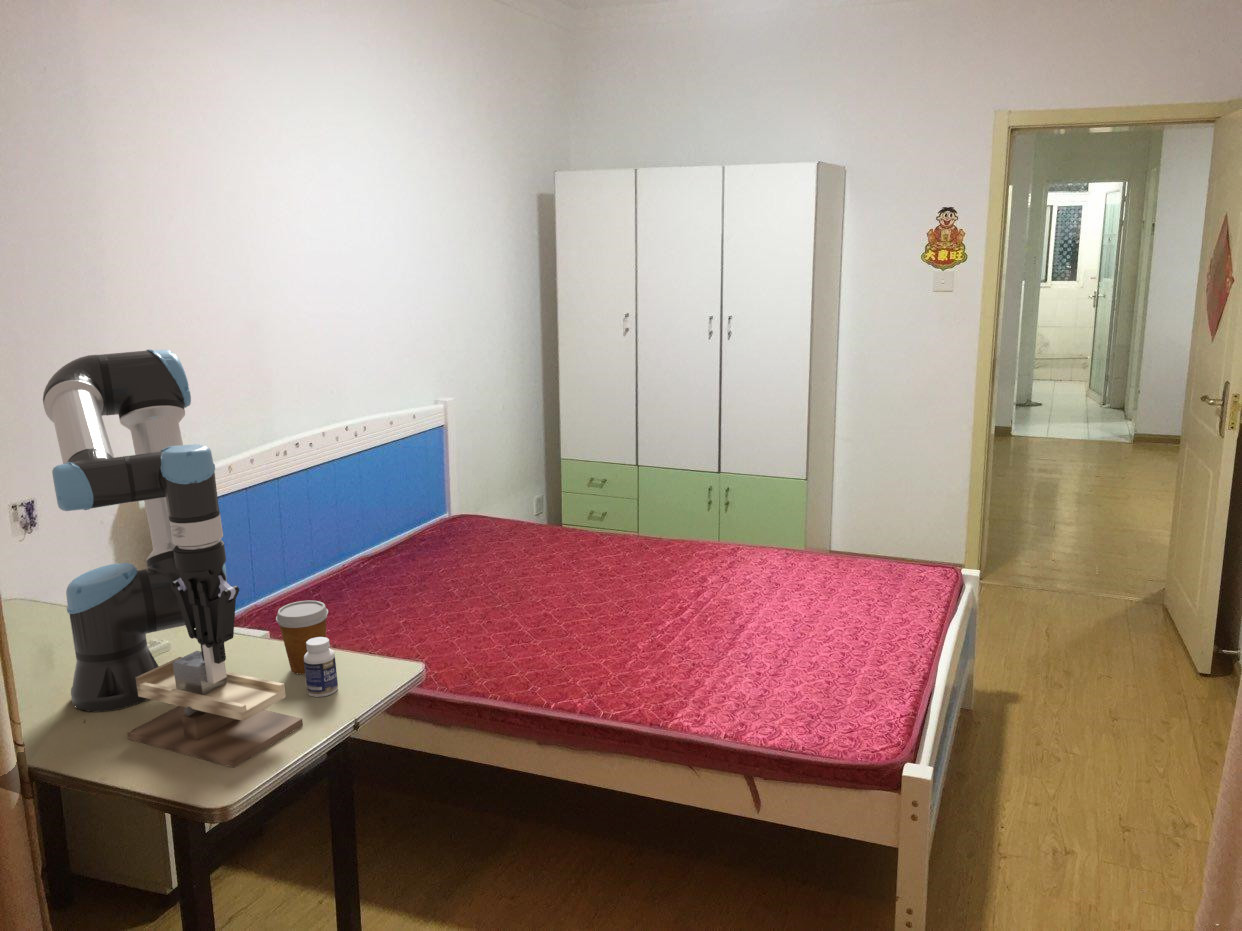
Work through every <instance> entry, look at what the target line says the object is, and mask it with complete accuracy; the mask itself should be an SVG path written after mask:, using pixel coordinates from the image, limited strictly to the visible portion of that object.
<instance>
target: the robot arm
mask: <svg viewBox="0 0 1242 931" xmlns="http://www.w3.org/2000/svg"><path fill="white" fill-rule="evenodd" d="M188 381H189V380H188V378H187V375H186V371H185V368H184V366H183V365H182V362H181V360H180V358H179V357H178V355H177V354H176V353H175V352H173V351H171V350H169V349H155V350H154V349H149V348H148V349H146V350H139V351H128V352H127V351H125V352H115V353H102V354H90V355H89V354H88V355H84V356H81V357H78V358H75V359H74V360H72V361H70V362H68V363H66V364H65V365H63V366H62V367H60V368H59V369H58V370H57V371H56V372H55V373H54V374H53V375H52V377H51V378H50V379H49V380H48V382H47V383H46V385H45V388H44V391H43V396H42V403H43V404H42V405H43V409H44V412H45V414H46V416H47V418H49V420H50V421H51V422H52V423H53V424H54V429H55V432H56V437H57V438H56V439H57V442H58V446H59V451H60V456H61V460H62V464H59V465H58V464H57V465H55V466H54V467H53V468H52V470H51V472H52V479H53V481H52V482H53V486H54V492H55V497H56V503H57V506H58V508H59V509H60V511H61V510H62V512H63V511H64V512H71V511H80V510H82V511H83V510H84V511H87V510H91V509H96V508H103V507H110V506H115V505H116V506H117V505H122V504H128V503H134V502H135V503H136V502H143V503H144V507H145V512H146V517H147V522H148V527H149V533H150V534H149V535H150V538H151V543H152V551H151V552H150V554H149V555H148V557H147V558H146V559H145V560H146V566H147V568H145V569H140V570H138V568H137V567H136V566H135V564H133V563H130V562H121V563H111V564H107V565H104V566H100V567H97V568H94V569H92V570H91V569H90V570H89V571H86V572H84V573H82V574H80V575H78V576H77V577H75V578H74V579H73V580H72V581H70V583H69V584H68V586H67V587H66V591H65V592H66V593H65V595H66V605H67V607H66V612H67V614H69V620H70V627H71V628H70V629H71V634H72V640H73V646H74V648H73V649H74V652H75V659H76V664H75V667H74V668H75V670H74V674H73V679H72V680H73V681H72V686H71V688H70V697H71V702H72V705H74V706H76V707H77V708H79V709H78V710H80V709H83V710H89V711H88V712H92V711H98V712H107V711H115V710H121V709H124V708H128V707H132V706H134V705H138V704H141V703H142V702H146V701H147V700H149V699H148V698H143V697H139V696H138V690H137V684H136V678H135V677H138V676H140V675H142V674H144V673H146V672H148V671H150V670H153V669H155V668H157V667H159V664H158V663H157V660H156V659H155V657H154V655H153V654H152V652H151V650H150V649H149V645H148V642H147V634H151V633H155V632H160V631H165V630H171V629H174V628H180V627H183V626H185V628H186V630H187V633H188V636H189V638H190V639H191V640H192V639H196V640H197V642H198V644H199V645H200V651H201V652H202V658H203V661H205V668H206V675H207V682H209V683H213V684H214V683H216V682H218V681H220V680H222V679H224V678H226V677H227V675H226V672H227V670H226V669H227V668H226V663H225V662H226V659H227V656H226V648H225V642H228V641H229V640H233V638H234V635H235V634H234V633H235V631H234V630H235V618H236V601H237V597H238V594H239V592H240V588H239V587H238V585H233V586H231V585H230V584H229V583H228V578H227V567H226V566H227V565H226V561H227V558H226V557H227V555H226V548H225V542H224V541H223V540H222V539H223V537H224V531H223V524H222V518H221V513H220V506H219V500H218V491H217V490H218V488H217V481H216V472H215V471H216V465H215V463H214V459H213V455H212V454H213V453H212V450H211V449H210V447H208V446H207V445H203V444H195V443H194V444H184V442H183V438H182V432H181V428H180V423H181V421H182V420H183V418H185V416H186V410H185V408H186V409H187V407H189V406H191V404H192V396H191V391H190V390H191V389H190V387H189V385H190V384H189V382H188ZM115 415H116V416H117V415H118V417H119V423H120V425H122V426H123V427H124V428H126V429H127V430H129V431H130V435H131V438H132V439H131V440H132V445H133V449H134V454H131V455H123V456H116V457H115V456H114V453H113V449H112V446H111V443H110V439H109V437H108V433H107V429H106V426H105V423H104V419H103V417H104V416H115ZM74 706H73V707H74ZM77 708H76V709H77ZM83 710H82V711H83Z"/></svg>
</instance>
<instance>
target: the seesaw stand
mask: <svg viewBox="0 0 1242 931" xmlns="http://www.w3.org/2000/svg"><path fill="white" fill-rule="evenodd" d="M185 708H186V707H182V706H178V705H177V706H176V707H174V708H172V709H170V710H168V711H166V712H164V713H163V714H160V715H158V716H156V717H155V718H152V719H151V720H149V721H147V722H144V723H143V724H141V725H139V726H137V727H135V728H133V729H131V730H129V731H128V732H127V738H128V740H131V741H134V742H138V743H142V744H145V745H149V746H153V747H157V748H160V749H164V750H167V751H171V752H175V753H178V754H182V755H186V756H190V757H194V758H197V759H201V760H205V761H207V762H208V761H209V762H213V763H215V764H220V765H224V766H227V767H230V768H236V767H237V766H240V765H241V764H243V763H244V762H245V761H247V760H249V759H251V758H253V757H254V756H255V755H257V754H258V753H260V752H262V751H263V750H265V749H266V748H268V747H270V746H272V745H273V744H275V743H276V742H277V741H280V740H281V739H283V738H284V737H286V736H287V734H288V735H289V734H291V733H293V732H294V731H296V730H297V729H299V728H300V726H301V727H302V726H303V725H304V723H303V722H304V721H303V718H301V717H297V716H293V715H288V714H284V713H280V712H276V711H272V710H268V709H267V710H266V709H264V710H262V711H261V712H259V713H257V714H255V715H254V716H252V717H250V718H248V719H247V720H245V721H242V720H237V719H233V718H229V717H225V716H220V715H216V714H212V713H207V712H203V711H197V712H195V713H194V714H192V715H190V716H187V715H186V714H185V712H184V709H185ZM295 729H296V730H295ZM293 730H294V731H293ZM292 731H293V732H292ZM290 732H291V733H290ZM285 735H286V736H285ZM282 737H283V738H282ZM279 739H280V740H279ZM271 744H272V745H271Z"/></svg>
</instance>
